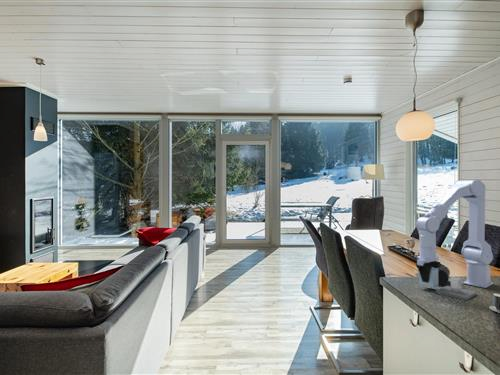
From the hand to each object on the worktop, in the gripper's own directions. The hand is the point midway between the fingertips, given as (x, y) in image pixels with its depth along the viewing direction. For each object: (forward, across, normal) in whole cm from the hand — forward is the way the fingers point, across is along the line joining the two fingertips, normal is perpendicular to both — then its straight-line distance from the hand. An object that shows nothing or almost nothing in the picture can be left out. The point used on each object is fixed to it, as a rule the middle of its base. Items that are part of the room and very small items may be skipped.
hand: (428, 280), depth 123 cm
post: (+3, -2, +9) cm, 10 cm away
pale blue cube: (+2, 0, 0) cm, 2 cm away
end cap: (+4, -13, -1) cm, 13 cm away
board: (+3, -2, +9) cm, 10 cm away
